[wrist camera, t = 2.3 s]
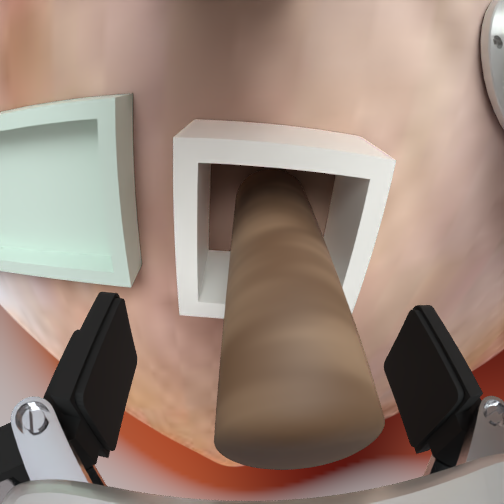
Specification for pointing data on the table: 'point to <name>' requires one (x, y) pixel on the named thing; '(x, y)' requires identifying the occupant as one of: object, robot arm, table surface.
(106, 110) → the tray
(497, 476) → the robot arm
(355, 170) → the white square ring
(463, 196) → the table surface
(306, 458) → the dowel
